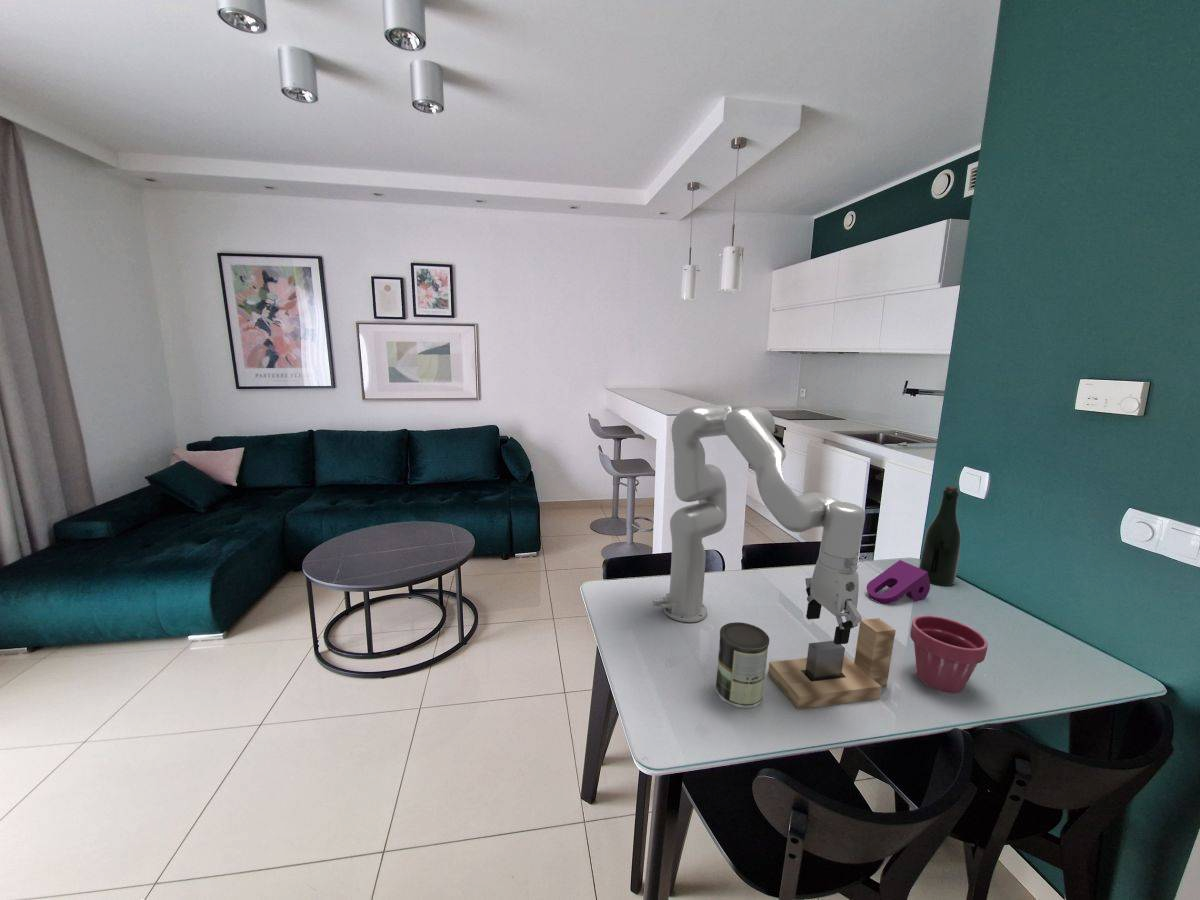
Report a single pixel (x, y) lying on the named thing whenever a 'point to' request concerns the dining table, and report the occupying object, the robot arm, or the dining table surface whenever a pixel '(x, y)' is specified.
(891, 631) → the wooden slotted base
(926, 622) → the plant pot
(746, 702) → the coffee can
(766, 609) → the dining table surface
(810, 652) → the tall grey upright slab
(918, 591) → the mounting bracket
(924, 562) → the beer bottle
